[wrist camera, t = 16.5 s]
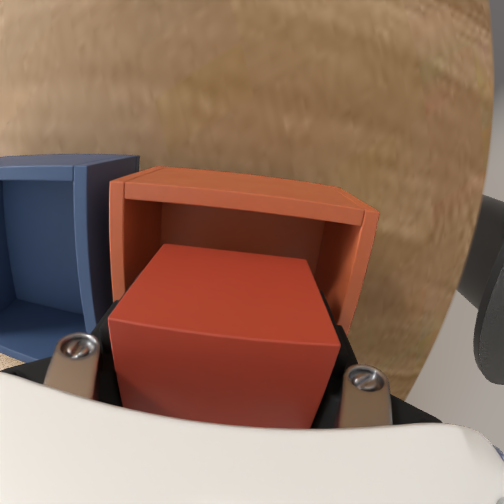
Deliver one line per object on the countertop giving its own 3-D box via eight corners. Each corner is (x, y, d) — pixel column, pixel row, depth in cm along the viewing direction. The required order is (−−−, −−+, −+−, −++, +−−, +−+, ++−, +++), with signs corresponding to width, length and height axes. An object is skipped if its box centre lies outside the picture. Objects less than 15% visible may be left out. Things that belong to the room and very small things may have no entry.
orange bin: (339, 187, 15) (380, 212, 10) (306, 341, 18) (321, 408, 13) (155, 165, 15) (108, 181, 10) (153, 324, 18) (124, 386, 13)
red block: (306, 258, 11) (342, 344, 6) (282, 368, 13) (293, 466, 8) (163, 242, 11) (106, 318, 6) (164, 355, 12) (132, 448, 8)
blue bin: (139, 155, 15) (87, 165, 9) (140, 328, 18) (108, 389, 13) (1, 156, 14) (-60, 170, 9) (17, 300, 18) (-28, 340, 13)
